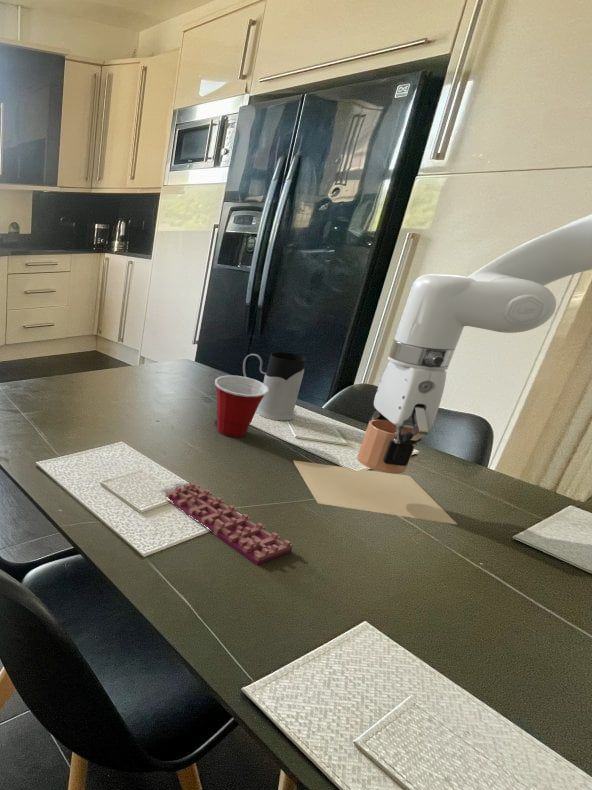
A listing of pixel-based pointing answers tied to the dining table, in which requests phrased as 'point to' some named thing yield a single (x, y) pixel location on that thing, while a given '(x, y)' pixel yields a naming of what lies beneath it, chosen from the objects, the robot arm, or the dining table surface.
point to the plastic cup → (237, 403)
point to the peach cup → (379, 446)
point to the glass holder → (280, 384)
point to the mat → (370, 491)
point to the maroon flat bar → (229, 524)
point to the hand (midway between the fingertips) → (384, 453)
